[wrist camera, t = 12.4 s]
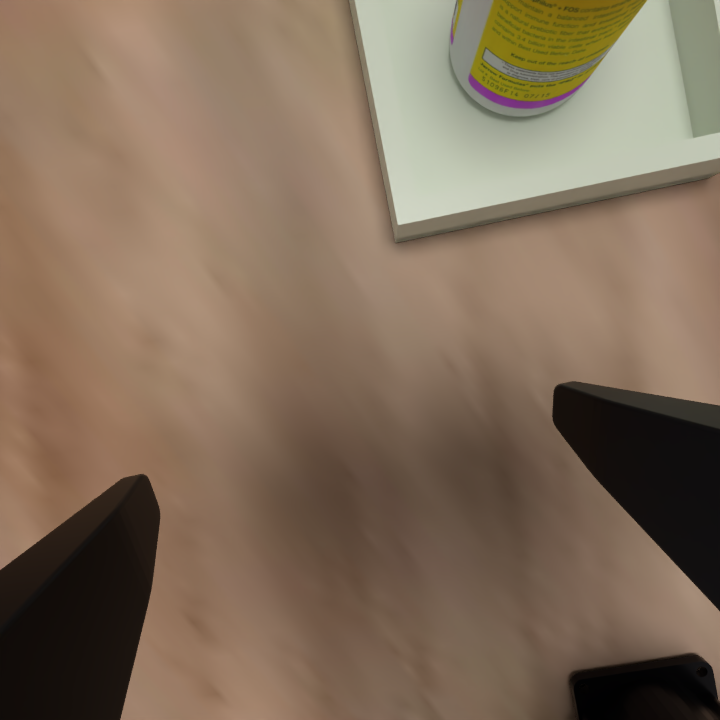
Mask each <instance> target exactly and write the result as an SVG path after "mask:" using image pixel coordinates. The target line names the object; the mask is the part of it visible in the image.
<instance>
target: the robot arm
mask: <svg viewBox="0 0 720 720" xmlns="http://www.w3.org/2000/svg"><path fill="white" fill-rule="evenodd" d="M552 417H553V422H554V425H555V427H556V428H557V429H558V431H559V432H560V433H561V435H562V436H563V437H564V439H565V440H566V441H567V442H568V444H569V445H570V446H571V448H572V449H573V450H574V452H575V453H576V454H577V455H578V457H579V458H580V459H581V461H582V462H583V463H584V465H585V466H586V467H587V468H588V470H589V471H590V472H591V473H592V475H593V476H594V477H595V478H596V479H597V480H598V482H599V483H600V484H601V485H602V486H603V487H604V488H605V489H606V490H607V491H608V492H609V493H610V495H611V496H612V497H613V498H614V499H615V500H616V501H617V502H618V503H619V504H620V505H621V506H622V507H623V508H624V509H625V511H626V512H627V513H628V514H629V515H630V516H631V517H632V518H633V519H634V520H635V521H636V522H637V523H638V524H639V525H640V527H641V528H642V529H643V530H644V531H645V532H646V533H647V534H648V535H649V536H650V537H651V538H652V539H653V540H654V541H655V542H656V544H657V545H658V546H659V547H660V548H661V549H662V550H663V551H664V552H665V553H666V554H667V555H668V556H669V557H670V558H671V560H672V561H673V562H674V563H675V564H676V565H677V566H678V567H679V568H680V569H681V570H682V571H683V572H684V573H685V574H686V576H687V577H688V578H689V579H690V580H691V581H692V582H693V583H694V584H695V585H696V586H697V587H698V588H699V589H700V590H701V592H702V593H703V594H704V595H705V596H706V597H707V598H708V599H709V600H710V601H711V602H712V603H713V604H714V605H715V606H716V608H717V609H718V610H719V611H720V406H719V405H713V404H707V403H701V402H695V401H689V400H683V399H677V398H671V397H665V396H659V395H653V394H647V393H641V392H635V391H629V390H623V389H617V388H611V387H605V386H599V385H593V384H587V383H582V382H576V381H572V382H567V383H562V384H558V385H557V386H556V387H555V389H554V395H553V413H552ZM159 525H160V509H159V505H158V502H157V500H156V497H155V494H154V491H153V489H152V486H151V483H150V481H149V479H148V477H147V476H146V475H144V474H139V475H134V476H129V477H125V478H122V479H121V480H120V481H118V482H117V483H116V484H114V485H113V486H112V487H110V488H109V489H108V490H106V491H105V492H104V493H102V494H101V495H100V496H98V497H97V498H96V499H94V500H93V501H92V502H90V503H89V504H88V505H86V506H85V507H84V508H82V509H81V510H80V511H78V512H77V513H76V514H74V515H73V516H72V517H70V518H69V519H68V520H66V521H65V522H64V523H62V524H61V525H60V526H58V527H57V528H56V529H54V530H53V531H52V532H50V533H49V534H48V535H46V536H45V537H44V538H42V539H41V540H40V541H38V542H37V543H36V544H34V545H33V546H32V547H30V548H29V549H28V550H26V551H25V552H24V553H22V554H21V555H20V556H18V557H17V558H16V559H14V560H13V561H12V562H10V563H9V564H8V565H6V566H5V567H4V568H2V569H1V570H0V720H120V718H121V714H122V710H123V706H124V702H125V698H126V694H127V690H128V685H129V681H130V677H131V673H132V669H133V665H134V661H135V657H136V652H137V648H138V644H139V640H140V636H141V632H142V628H143V624H144V619H145V615H146V611H147V607H148V603H149V598H150V594H151V589H152V582H153V575H154V566H155V558H156V550H157V541H158V533H159ZM699 667H701V668H700V669H699V670H697V669H698V668H699ZM582 684H585V686H584V687H582V688H579V687H580V685H582ZM570 687H571V692H572V698H573V703H574V708H575V713H576V719H577V720H720V701H719V700H718V696H717V690H716V685H715V679H714V674H713V669H712V667H711V666H710V665H709V664H708V663H707V662H706V661H705V660H704V659H703V658H702V657H700V656H696V655H693V656H687V657H680V658H673V659H667V660H660V661H654V662H647V663H640V664H634V665H627V666H620V667H614V668H607V669H600V670H594V671H587V672H580V673H577V674H574V675H573V676H572V677H571V679H570Z"/></svg>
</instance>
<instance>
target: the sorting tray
mask: <svg viewBox="0 0 720 720" xmlns="http://www.w3.org/2000/svg"><path fill="white" fill-rule="evenodd" d="M349 4H350V9H351V14H352V20H353V25H354V30H355V35H356V40H357V46H358V51H359V56H360V61H361V66H362V72H363V77H364V82H365V87H366V92H367V98H368V103H369V108H370V113H371V118H372V124H373V129H374V134H375V139H376V144H377V150H378V155H379V160H380V165H381V170H382V176H383V181H384V186H385V191H386V196H387V202H388V207H389V212H390V217H391V222H392V228H393V233H394V238H395V243H398V242H403V241H408V240H413V239H417V238H422V237H427V236H432V235H437V234H441V233H446V232H451V231H456V230H461V229H466V228H470V227H475V226H480V225H485V224H490V223H495V222H499V221H504V220H509V219H514V218H519V217H523V216H528V215H533V214H538V213H543V212H548V211H552V210H557V209H562V208H567V207H572V206H577V205H581V204H586V203H591V202H596V201H601V200H605V199H610V198H615V197H620V196H625V195H630V194H634V193H639V192H644V191H649V190H654V189H658V188H663V187H668V186H673V185H678V184H683V183H687V182H692V181H697V180H702V179H707V178H710V177H712V176H714V175H716V174H718V173H720V0H647V1H646V3H645V4H644V5H643V7H642V8H641V9H640V11H639V12H638V13H637V15H636V16H635V17H634V19H633V20H632V21H631V23H630V24H629V25H628V27H627V28H626V29H625V31H624V32H623V33H622V35H621V36H620V37H619V39H618V40H617V41H616V43H615V44H614V45H613V47H612V48H611V49H610V51H609V52H608V53H607V55H606V56H605V57H604V59H603V60H602V61H601V63H600V64H599V65H598V67H597V68H596V69H595V71H594V72H593V73H592V75H591V76H590V77H589V78H588V80H587V81H586V82H585V83H584V85H583V86H582V87H581V88H580V89H579V90H578V91H577V92H576V93H575V94H574V95H573V96H572V97H571V98H569V99H568V100H567V101H565V102H564V103H562V104H561V105H559V106H557V107H555V108H554V109H551V110H549V111H547V112H544V113H541V114H537V115H532V116H517V117H516V116H507V115H503V114H499V113H496V112H493V111H491V110H489V109H487V108H485V107H483V106H482V105H480V104H479V103H477V102H476V101H475V100H474V99H473V98H472V97H470V96H469V94H468V93H467V92H466V91H465V90H464V88H463V87H462V85H461V84H460V82H459V80H458V79H457V76H456V74H455V72H454V69H453V66H452V62H451V57H450V45H449V41H450V30H451V24H452V18H453V13H454V8H455V4H456V0H349Z"/></svg>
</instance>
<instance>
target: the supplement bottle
mask: <svg viewBox="0 0 720 720" xmlns="http://www.w3.org/2000/svg"><path fill="white" fill-rule="evenodd" d="M646 1H647V0H456V4H455V8H454V13H453V18H452V24H451V30H450V41H449V45H450V57H451V62H452V66H453V69H454V72H455V74H456V76H457V79H458V80H459V82H460V84H461V85H462V87H463V88H464V90H465V91H466V92H467V93H468V94H469V96H470V97H472V98H473V99H474V100H475V101H476V102H477V103H479V104H480V105H482V106H483V107H485V108H487V109H489V110H491V111H493V112H496V113H499V114H503V115H507V116H516V117H517V116H532V115H537V114H541V113H544V112H547V111H549V110H551V109H554V108H555V107H557V106H559V105H561V104H562V103H564V102H565V101H567V100H568V99H569V98H571V97H572V96H573V95H574V94H575V93H576V92H577V91H578V90H579V89H580V88H581V87H582V86H583V85H584V83H585V82H586V81H587V80H588V78H589V77H590V76H591V75H592V73H593V72H594V71H595V69H596V68H597V67H598V65H599V64H600V63H601V61H602V60H603V59H604V57H605V56H606V55H607V53H608V52H609V51H610V49H611V48H612V47H613V45H614V44H615V43H616V41H617V40H618V39H619V37H620V36H621V35H622V33H623V32H624V31H625V29H626V28H627V27H628V25H629V24H630V23H631V21H632V20H633V19H634V17H635V16H636V15H637V13H638V12H639V11H640V9H641V8H642V7H643V5H644V4H645V3H646Z"/></svg>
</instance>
